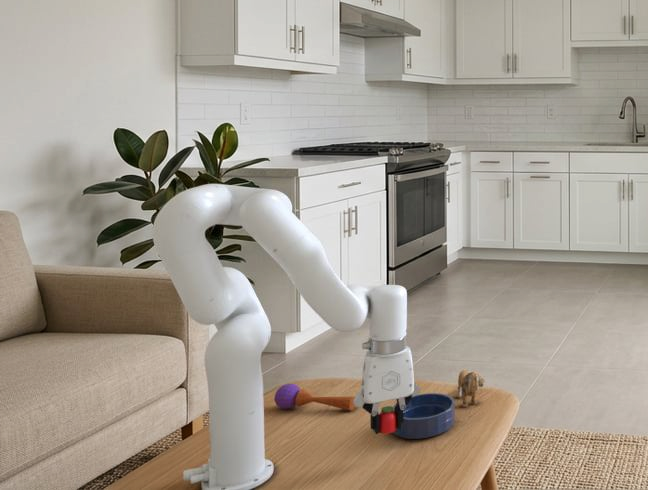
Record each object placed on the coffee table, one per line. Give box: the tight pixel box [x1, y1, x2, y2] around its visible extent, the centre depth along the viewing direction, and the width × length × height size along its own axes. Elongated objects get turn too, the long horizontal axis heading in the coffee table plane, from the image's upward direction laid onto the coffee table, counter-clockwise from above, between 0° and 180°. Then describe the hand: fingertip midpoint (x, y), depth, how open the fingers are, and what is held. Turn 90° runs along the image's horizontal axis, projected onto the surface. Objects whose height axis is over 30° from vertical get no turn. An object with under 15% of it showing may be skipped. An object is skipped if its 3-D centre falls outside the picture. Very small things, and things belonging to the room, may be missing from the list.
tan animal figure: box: [456, 369, 486, 408], centre depth 171 cm, size 15×5×9 cm, turn 33°
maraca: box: [274, 383, 356, 412], centre depth 167 cm, size 6×6×20 cm
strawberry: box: [378, 405, 396, 435], centre depth 143 cm, size 4×4×5 cm
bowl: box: [392, 392, 456, 440], centre depth 157 cm, size 14×14×5 cm
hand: (387, 428), depth 143 cm, fingers closed on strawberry, 3 cm apart
